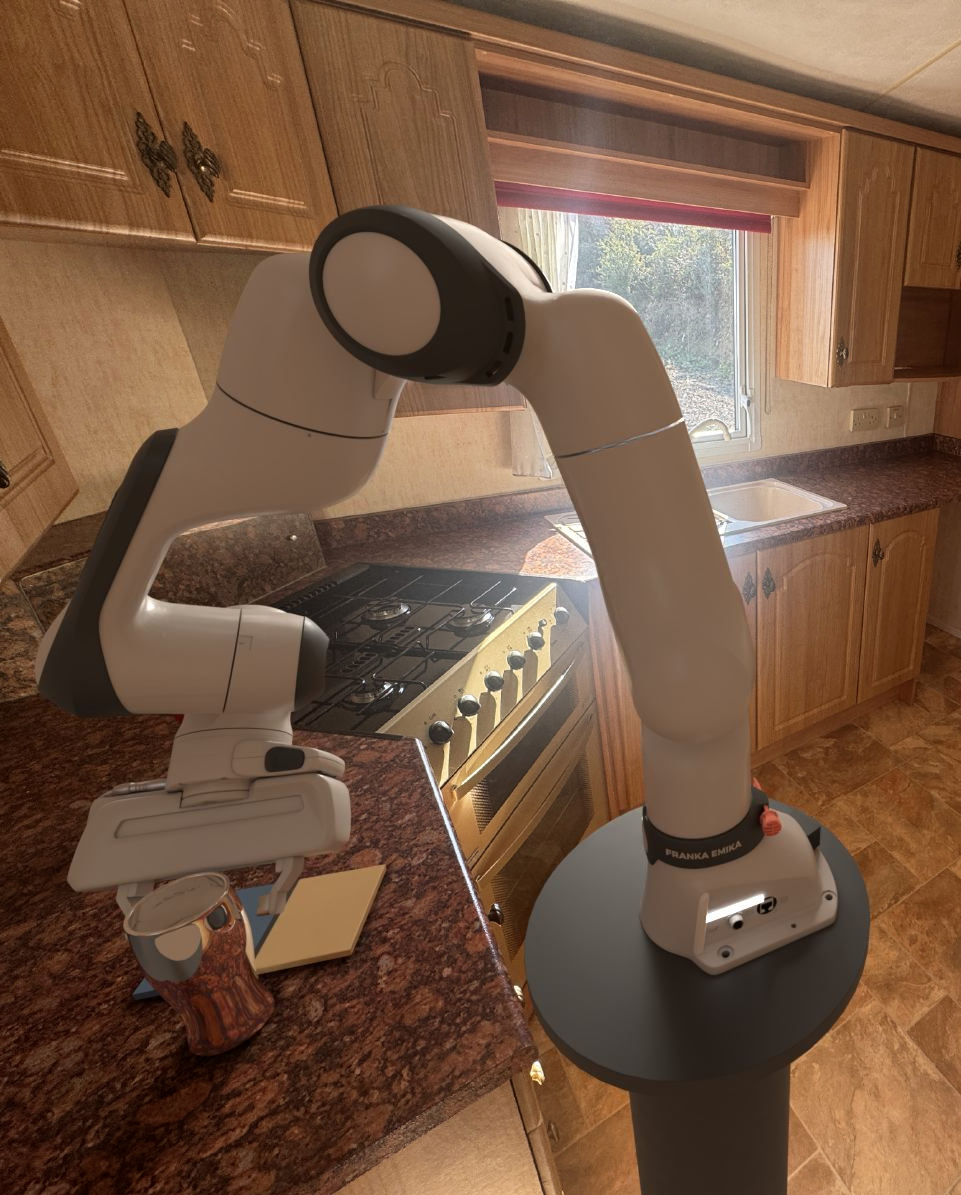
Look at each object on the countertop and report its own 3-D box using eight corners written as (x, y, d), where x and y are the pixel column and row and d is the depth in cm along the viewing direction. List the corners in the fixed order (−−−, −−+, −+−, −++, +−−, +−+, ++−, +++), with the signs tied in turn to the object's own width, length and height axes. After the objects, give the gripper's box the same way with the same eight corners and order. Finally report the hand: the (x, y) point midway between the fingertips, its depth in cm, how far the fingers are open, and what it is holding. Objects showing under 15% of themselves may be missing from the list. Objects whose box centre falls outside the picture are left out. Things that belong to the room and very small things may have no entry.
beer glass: (291, 977, 62) (246, 861, 56) (265, 1045, 56) (211, 922, 50) (203, 1001, 60) (147, 881, 54) (166, 1074, 54) (98, 949, 48)
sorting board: (386, 868, 75) (385, 863, 75) (351, 955, 64) (349, 949, 64) (205, 901, 70) (202, 895, 70) (134, 1000, 60) (131, 994, 59)
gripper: (68, 782, 55) (25, 958, 50) (336, 748, 61) (322, 903, 55) (121, 791, 61) (87, 950, 56) (362, 759, 66) (352, 901, 61)
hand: (207, 926), depth 56 cm, fingers open, 8 cm apart
